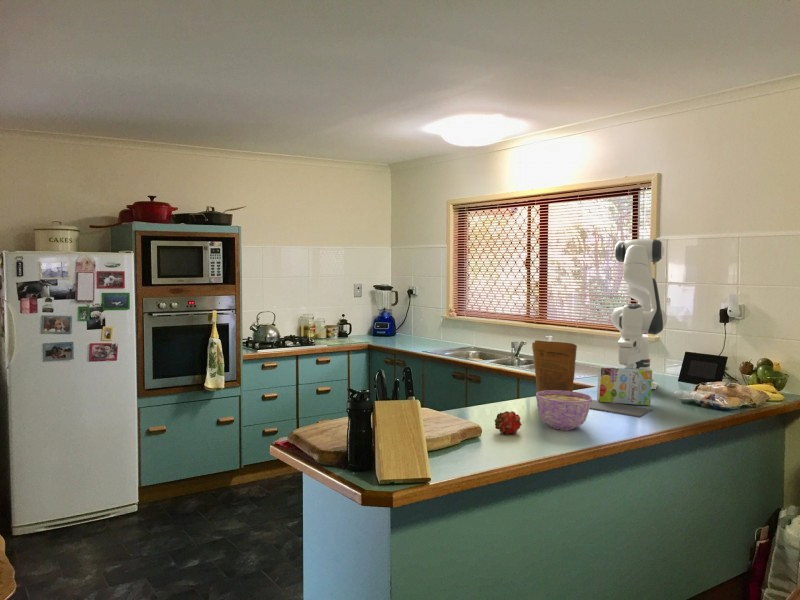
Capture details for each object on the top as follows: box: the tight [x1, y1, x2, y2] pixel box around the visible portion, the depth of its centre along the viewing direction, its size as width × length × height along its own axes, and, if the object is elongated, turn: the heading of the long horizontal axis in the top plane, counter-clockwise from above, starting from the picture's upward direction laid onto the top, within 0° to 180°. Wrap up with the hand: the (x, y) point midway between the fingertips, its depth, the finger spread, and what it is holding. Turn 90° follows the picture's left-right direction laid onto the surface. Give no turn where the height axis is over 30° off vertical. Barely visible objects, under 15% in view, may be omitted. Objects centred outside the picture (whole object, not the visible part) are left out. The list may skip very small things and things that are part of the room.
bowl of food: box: [535, 390, 593, 431], centre depth 241 cm, size 20×20×12 cm
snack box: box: [596, 365, 653, 406], centre depth 284 cm, size 21×6×15 cm, turn 84°
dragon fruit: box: [494, 411, 523, 435], centre depth 231 cm, size 8×8×12 cm
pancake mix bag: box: [531, 340, 578, 407], centre depth 268 cm, size 7×19×28 cm, turn 45°
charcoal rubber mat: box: [589, 399, 653, 418], centre depth 274 cm, size 16×26×1 cm, turn 54°
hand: (629, 373), depth 289 cm, fingers closed
